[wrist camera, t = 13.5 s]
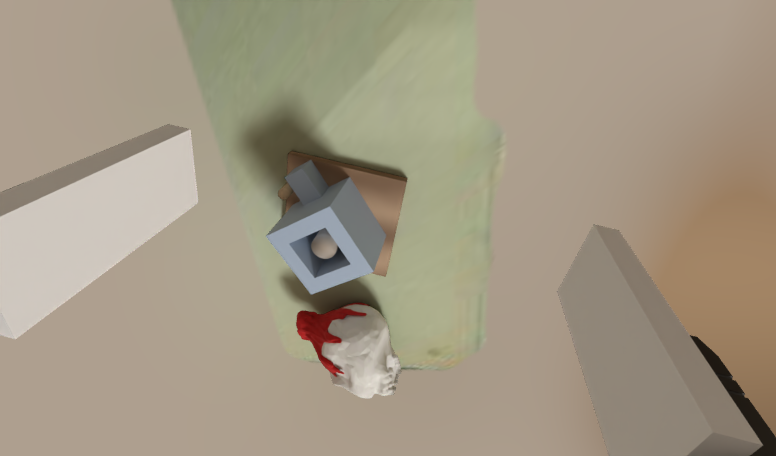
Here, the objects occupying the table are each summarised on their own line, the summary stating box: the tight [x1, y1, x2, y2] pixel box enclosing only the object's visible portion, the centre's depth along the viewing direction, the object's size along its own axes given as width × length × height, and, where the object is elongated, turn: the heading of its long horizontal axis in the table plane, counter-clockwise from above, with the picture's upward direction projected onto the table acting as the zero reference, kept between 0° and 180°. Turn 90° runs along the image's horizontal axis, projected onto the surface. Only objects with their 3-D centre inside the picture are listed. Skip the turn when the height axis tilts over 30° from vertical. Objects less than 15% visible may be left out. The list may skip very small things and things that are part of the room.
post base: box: [286, 151, 407, 277], centre depth 42 cm, size 13×13×7 cm
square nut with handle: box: [266, 160, 386, 295], centre depth 40 cm, size 12×8×7 cm
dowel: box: [278, 182, 294, 200], centre depth 41 cm, size 1×1×3 cm
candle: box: [296, 303, 401, 398], centre depth 49 cm, size 9×11×15 cm
